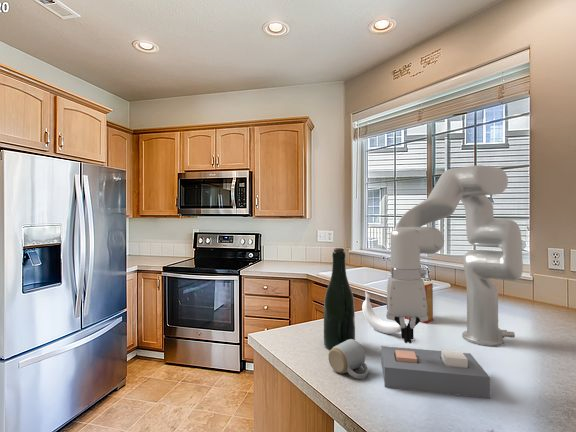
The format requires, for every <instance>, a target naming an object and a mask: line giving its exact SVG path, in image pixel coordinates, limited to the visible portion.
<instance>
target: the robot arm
mask: <svg viewBox="0 0 576 432" xmlns="http://www.w3.org/2000/svg"><path fill="white" fill-rule="evenodd" d="M507 175H508V174H507V173H506V171H504V169H503V168H500V167H495V166H490V165H481V164H480V165H477V164H476V165H470V166H460V167H454V168H450V169H446V170H445V171H444V172H442V174H441V175H440V177H439V179H438V180H437V181H436V183H435V185H434V187H433V188H432V190H431V192H430V193H429V195H428V197H426V199H424V200H422V201H421V202H419V203H418V204H416V205H414V206H413V207H412V208H410V209H409V210H408V211H406V212H405V213H404V214H403V215H402V216H401V217H400V218H399V220H398V222H397V223H396V225H395V227H394V228H393V230H392V231H390V235H389V236H390V237H389V239H390V273H391V276H390V277H388V280H387V287H386V310H387V311H386V314H385V315H386V319H387V320H391V321H392V322H397V323H398V324H399V325H400V326H401V332H400V334H401V335H400V336H401V339H403V341H404V343H405V344H412V340H414V339H415V338H414V337H415V336H414V329H415V327H416V326H417V325H418V324H420V323H421V322H423V321H427V320H428V316H427V300H426V291H425V285H424V282H425V281H424V279H423V276H427V270H425V269H422V268H421V254H423V255H424V254H425V255H427V254H429V255H430V254H431V255H433V254H436V253H438V252H439V251H441V249H443V247H444V245H445V237H444V235H443V233H442V232H441V231H440V230H439V229H437V228H435V227H432V226H431V227H430V226H425V225H427V224H431V223H434V222H436V221H440V220H443V219H445V218H448V217H451V215H453V214H454V212H455V211H456V209H457V207H458V204H459V203H460V201H461V203H462V204H463V207H464V212H465V228H466V229H465V230H466V232H465V233H466V239H467V242H468V243H469V244H471V245H472V246H475V247H482V248H483V247H485V248H499V249H501V250H500V251H498V250H489V249H488V250H486V249H472V250H470V251H467V252H466V253H465V254H464V255H463V258H462V259H463V260H462V264H463V270H464V275H465V282H466V284H465V285H466V330H465V331H462V334H461V335H462V338H463V339H464V340H466V341H468V342H470V343H472V344H476V345H481V346H487V347H499V346H502V345H504V344H505V339H504V338H511V339H512V338H516V337H515V336H516V334H515V332H514V331H509V330H507V329H500V328H499V292H498V288H497V285H495V283H494V281H493V280H492V279H494V280H502V281H510V282H512V281H514V282H515V281H518V280H519V279H520V278H521V277H522V274H523V269H524V268H523V263H524V262H523V245H522V244H523V243H522V232H521V228H520V226H519V225H518V223H517V222H516V221H514V220H511V219H495V216H494V215H495V214H494V205H493V202H492V201H491V200H490V198H489V197H488V196H491V195H492V196H493V195H495V196H497V195H500V194H502V193H504V192H505V191H506V189H507V188H508V184H509V180H508V179H509V178H508V176H507ZM404 317H409V320H408V323H407V324H406V323H405V322H406V321H405V319H404Z"/></svg>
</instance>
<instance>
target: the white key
mask: <svg viewBox="0 0 576 432" xmlns="http://www.w3.org/2000/svg"><path fill="white" fill-rule="evenodd" d="M440 351H441V358H442V362H443V363H444V365H445V366H451V367H462V368H468V359H467V358H466V357H465V355H464V354H463V353H464V352H463V351H460V350H459V351H458V350H448V349H447V350H446V349H441V350H440Z"/></svg>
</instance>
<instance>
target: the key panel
mask: <svg viewBox="0 0 576 432" xmlns="http://www.w3.org/2000/svg"><path fill="white" fill-rule="evenodd" d="M380 349H381V350H380V353H381V356H380V357H381V358H380V359H381V370H382V376H383V383H384V384H383V385H384V388H390V389H391V388H392V389H399V390H409V391H418V392H429V393H436V394H447V395H454V396H455V395H457V396H465V397H475V398H484V399H491V377H490V376H489V374H488V373H487V371H485V369H484V368H483V367H482V366H481V365H480V363H479V362H478V361H477V360H476V358H475V357H474V356H473V354H471V353H470V352H469V353H468V352H462V353H463V354H464V355H465V357H466V358H467V359H468V368H462V367H451V366H445V365H444V363H443V362H442V358H441V350H434V349H421V348H409V347H407V348H406V347H395V346H385V345H381V348H380ZM395 350H403V351H414V352H415V355H416V357H417V363H407V362H396V360H395Z"/></svg>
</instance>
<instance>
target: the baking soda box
mask: <svg viewBox="0 0 576 432" xmlns="http://www.w3.org/2000/svg"><path fill="white" fill-rule="evenodd" d="M433 284H434V283H432V282H426V281H424V285H425V291H426V300H427V316H428V320H427V321H423V322H420V323H421V324H426V325H427V324H429V323H430V322H432V321H434V307H433V306H434V295H433V289H434V288H433V287H434V285H433ZM404 320H408V321H409V317H404Z"/></svg>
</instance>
